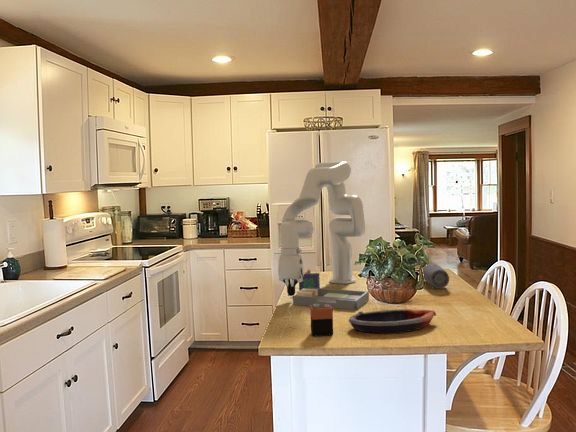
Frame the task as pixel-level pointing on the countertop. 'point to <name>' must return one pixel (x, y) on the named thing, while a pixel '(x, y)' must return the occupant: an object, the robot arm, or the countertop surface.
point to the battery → (321, 320)
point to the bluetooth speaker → (435, 275)
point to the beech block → (308, 292)
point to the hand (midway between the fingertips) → (291, 295)
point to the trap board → (334, 298)
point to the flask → (310, 280)
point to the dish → (391, 320)
